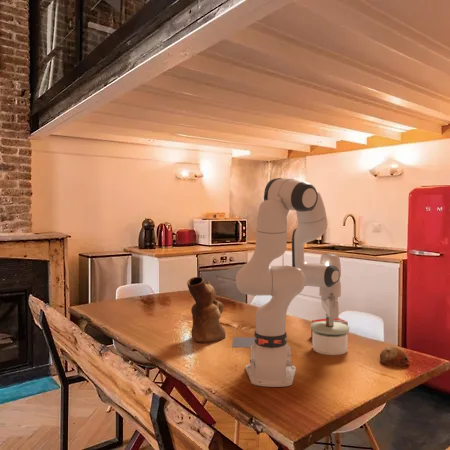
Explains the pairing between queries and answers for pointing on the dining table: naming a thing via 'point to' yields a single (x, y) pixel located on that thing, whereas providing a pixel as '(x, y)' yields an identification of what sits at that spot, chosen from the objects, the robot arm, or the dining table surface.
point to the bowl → (330, 343)
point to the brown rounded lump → (393, 356)
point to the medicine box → (334, 321)
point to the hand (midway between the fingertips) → (329, 323)
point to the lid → (329, 327)
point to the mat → (243, 342)
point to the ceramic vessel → (205, 312)
